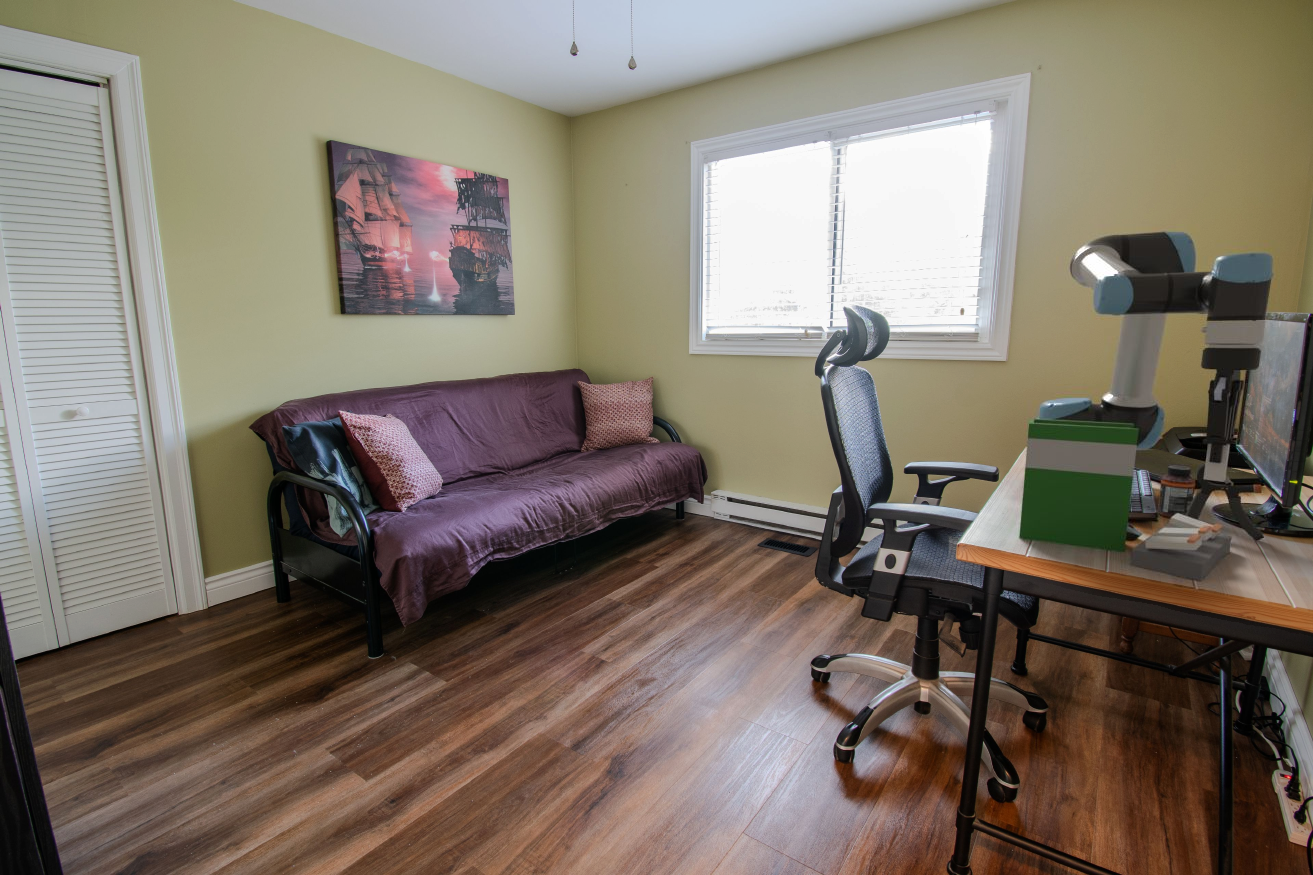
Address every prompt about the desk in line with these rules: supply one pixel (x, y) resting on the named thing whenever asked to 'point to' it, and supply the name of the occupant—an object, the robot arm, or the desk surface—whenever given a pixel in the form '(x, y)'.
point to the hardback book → (1078, 483)
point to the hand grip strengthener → (1233, 499)
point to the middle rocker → (1186, 532)
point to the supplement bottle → (1176, 491)
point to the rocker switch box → (1182, 557)
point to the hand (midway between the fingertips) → (1214, 479)
